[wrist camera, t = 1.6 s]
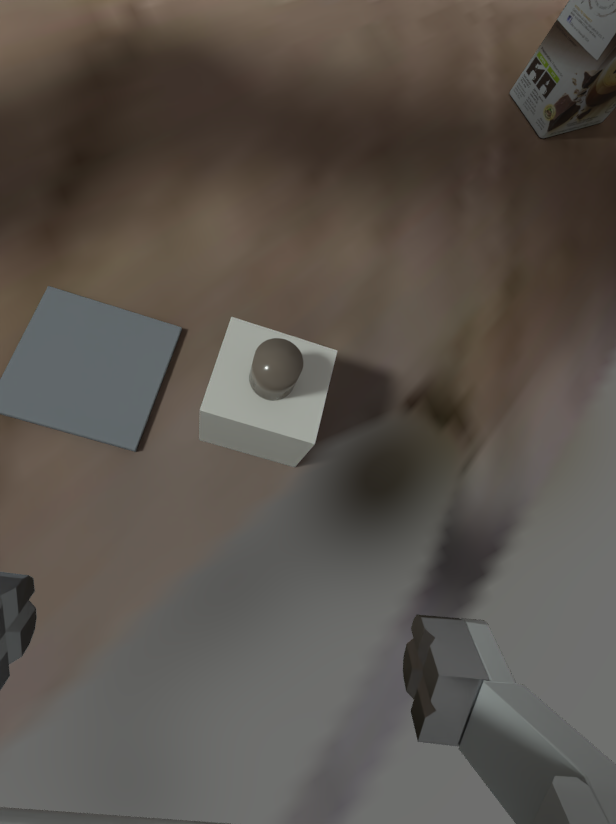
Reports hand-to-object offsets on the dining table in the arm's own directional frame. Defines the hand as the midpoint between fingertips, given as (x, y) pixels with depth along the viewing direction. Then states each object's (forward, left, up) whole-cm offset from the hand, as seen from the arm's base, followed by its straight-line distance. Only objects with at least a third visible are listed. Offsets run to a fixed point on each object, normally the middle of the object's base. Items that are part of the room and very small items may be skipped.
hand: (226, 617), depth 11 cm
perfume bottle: (-4, +11, -20) cm, 23 cm away
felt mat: (-14, +7, -20) cm, 26 cm away
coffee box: (+2, +56, -20) cm, 60 cm away
